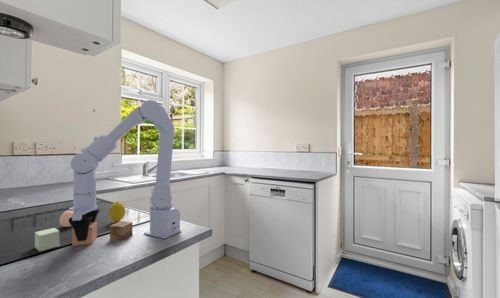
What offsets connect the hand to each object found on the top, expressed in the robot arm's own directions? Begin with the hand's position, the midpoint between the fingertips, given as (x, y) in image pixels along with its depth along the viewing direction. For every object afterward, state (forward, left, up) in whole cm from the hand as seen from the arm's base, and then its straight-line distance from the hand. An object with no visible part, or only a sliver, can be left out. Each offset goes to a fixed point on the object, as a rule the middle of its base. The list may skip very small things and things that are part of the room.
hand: (85, 236), depth 72 cm
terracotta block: (0, 0, -1) cm, 1 cm away
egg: (+19, -5, -2) cm, 20 cm away
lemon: (+8, -16, -2) cm, 18 cm away
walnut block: (-7, -7, -2) cm, 10 cm away
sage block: (+6, +7, -2) cm, 9 cm away
